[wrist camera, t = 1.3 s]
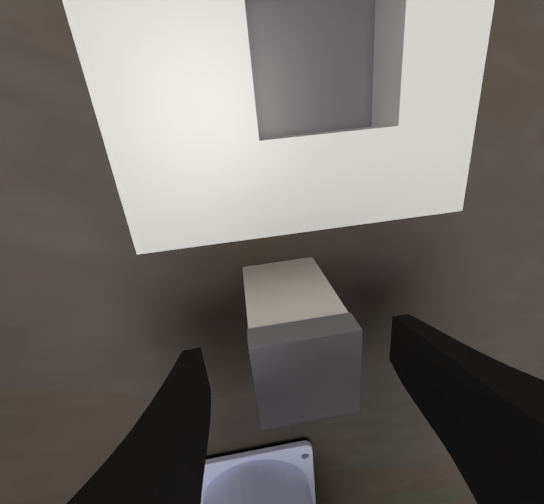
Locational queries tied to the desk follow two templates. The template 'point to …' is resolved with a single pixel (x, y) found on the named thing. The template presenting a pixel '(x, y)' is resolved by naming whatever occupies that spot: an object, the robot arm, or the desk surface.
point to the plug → (300, 344)
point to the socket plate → (281, 111)
